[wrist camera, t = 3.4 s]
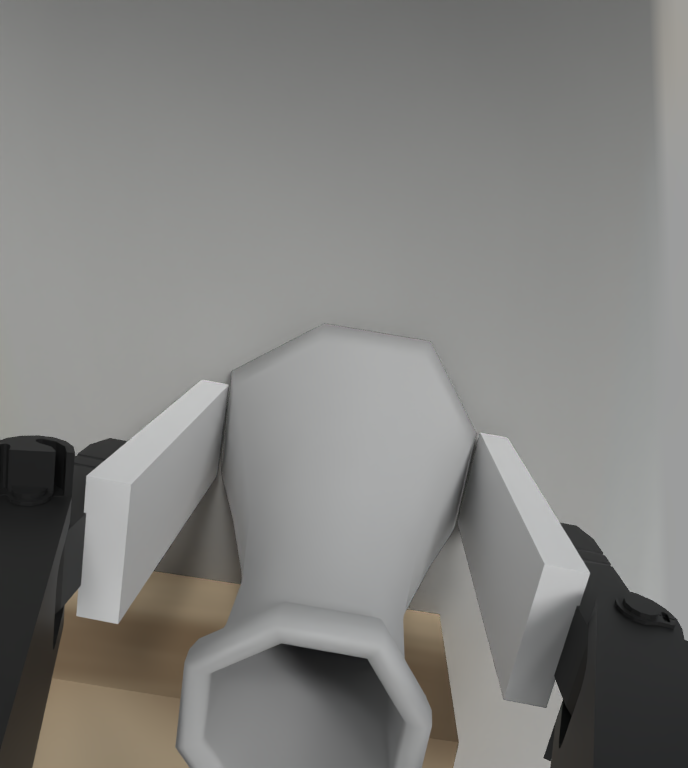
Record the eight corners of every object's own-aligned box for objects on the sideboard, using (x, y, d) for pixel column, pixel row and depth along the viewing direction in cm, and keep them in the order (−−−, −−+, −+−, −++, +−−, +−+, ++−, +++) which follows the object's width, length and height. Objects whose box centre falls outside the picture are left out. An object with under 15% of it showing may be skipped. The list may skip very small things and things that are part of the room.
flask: (195, 341, 16) (-73, 503, 7) (459, 300, 16) (588, 414, 6) (248, 573, 18) (95, 968, 8) (488, 546, 17) (623, 943, 8)
